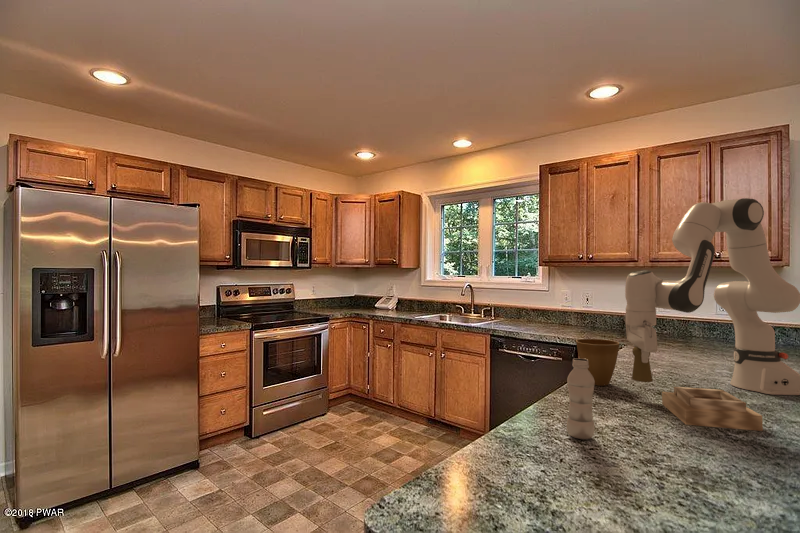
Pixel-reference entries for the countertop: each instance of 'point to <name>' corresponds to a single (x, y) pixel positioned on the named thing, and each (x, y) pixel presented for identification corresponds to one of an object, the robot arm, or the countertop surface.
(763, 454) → the countertop surface
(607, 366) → the plant pot
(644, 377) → the cork
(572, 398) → the plastic bottle
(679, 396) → the display stand
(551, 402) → the countertop surface
